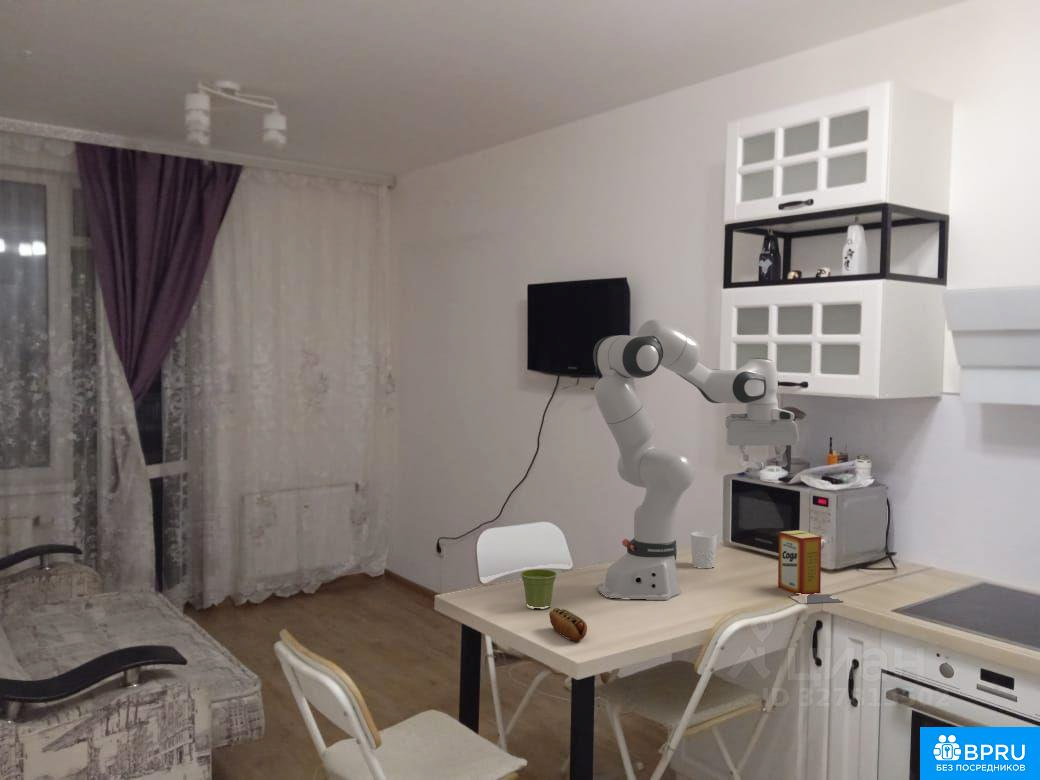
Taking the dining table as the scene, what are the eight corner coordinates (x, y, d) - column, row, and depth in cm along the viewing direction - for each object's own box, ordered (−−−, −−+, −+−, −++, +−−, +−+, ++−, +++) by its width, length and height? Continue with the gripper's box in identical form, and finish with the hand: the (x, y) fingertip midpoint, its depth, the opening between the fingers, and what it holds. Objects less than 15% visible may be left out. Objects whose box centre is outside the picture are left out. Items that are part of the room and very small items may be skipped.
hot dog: (565, 625, 198) (565, 604, 198) (592, 642, 186) (592, 620, 186) (546, 628, 196) (546, 607, 196) (572, 645, 184) (572, 623, 184)
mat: (800, 604, 216) (800, 603, 216) (787, 596, 223) (787, 595, 223) (843, 602, 218) (843, 601, 218) (829, 594, 225) (829, 594, 225)
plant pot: (512, 606, 214) (512, 572, 214) (540, 599, 220) (540, 567, 220) (536, 614, 207) (536, 579, 207) (564, 607, 213) (564, 573, 213)
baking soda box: (820, 593, 226) (821, 535, 226) (801, 596, 224) (801, 537, 224) (797, 585, 235) (797, 528, 235) (778, 587, 233) (778, 530, 232)
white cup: (714, 563, 260) (715, 532, 260) (718, 569, 252) (718, 537, 252) (689, 563, 261) (689, 531, 261) (691, 569, 253) (692, 536, 253)
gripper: (726, 414, 241) (727, 462, 241) (799, 414, 238) (800, 462, 238) (724, 413, 247) (724, 459, 247) (795, 412, 244) (796, 459, 244)
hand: (762, 460), depth 243 cm, fingers open, 8 cm apart
